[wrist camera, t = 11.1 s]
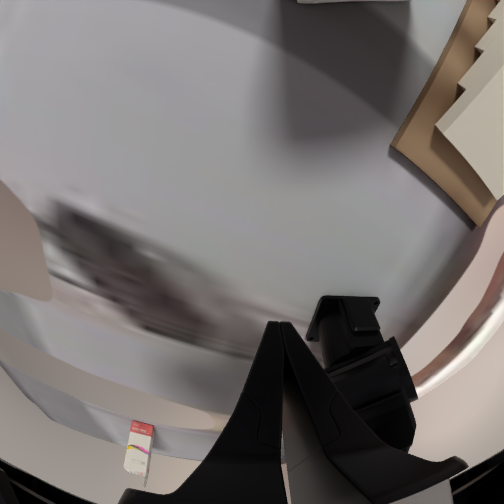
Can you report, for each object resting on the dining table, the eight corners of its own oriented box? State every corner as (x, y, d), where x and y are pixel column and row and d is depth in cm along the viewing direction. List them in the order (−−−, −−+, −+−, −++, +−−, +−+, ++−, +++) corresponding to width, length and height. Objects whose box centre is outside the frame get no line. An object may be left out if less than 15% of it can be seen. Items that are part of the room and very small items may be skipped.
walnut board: (475, 223, 21) (479, 227, 20) (390, 144, 17) (395, 147, 17) (547, 67, 9) (552, 69, 8) (479, -30, 5) (484, -31, 5)
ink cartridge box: (131, 419, 46) (120, 479, 34) (153, 425, 47) (144, 485, 35) (134, 430, 50) (125, 483, 38) (154, 435, 51) (147, 488, 39)
